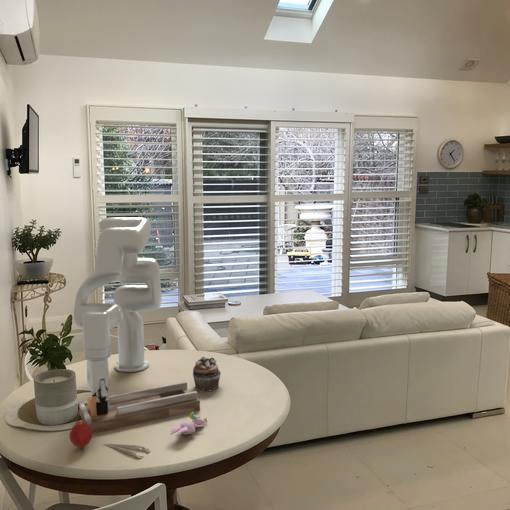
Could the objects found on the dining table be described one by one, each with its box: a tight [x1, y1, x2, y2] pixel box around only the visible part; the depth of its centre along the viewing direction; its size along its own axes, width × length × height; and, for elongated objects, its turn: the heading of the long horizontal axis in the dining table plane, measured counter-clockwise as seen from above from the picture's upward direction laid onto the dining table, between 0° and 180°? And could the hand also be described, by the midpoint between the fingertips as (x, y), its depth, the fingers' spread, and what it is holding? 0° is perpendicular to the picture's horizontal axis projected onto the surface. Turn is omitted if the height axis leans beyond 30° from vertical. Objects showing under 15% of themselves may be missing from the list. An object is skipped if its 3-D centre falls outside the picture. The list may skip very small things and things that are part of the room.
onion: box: [69, 419, 93, 449], centre depth 145 cm, size 6×6×8 cm
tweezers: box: [102, 442, 151, 460], centre depth 146 cm, size 17×5×2 cm, turn 65°
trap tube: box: [78, 381, 201, 434], centre depth 167 cm, size 14×34×5 cm, turn 118°
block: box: [86, 395, 100, 417], centre depth 161 cm, size 5×5×4 cm
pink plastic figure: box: [170, 411, 208, 437], centre depth 154 cm, size 6×6×15 cm
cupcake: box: [192, 356, 221, 392], centre depth 186 cm, size 10×10×10 cm
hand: (100, 409), depth 161 cm, fingers closed on block, 5 cm apart
